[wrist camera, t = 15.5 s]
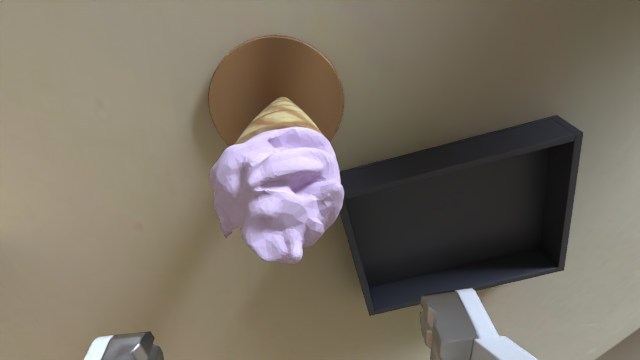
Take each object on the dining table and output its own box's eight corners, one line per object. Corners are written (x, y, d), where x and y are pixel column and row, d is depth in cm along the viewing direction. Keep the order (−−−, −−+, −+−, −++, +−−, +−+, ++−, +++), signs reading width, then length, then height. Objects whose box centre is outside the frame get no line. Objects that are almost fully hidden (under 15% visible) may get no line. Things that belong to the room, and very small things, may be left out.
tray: (557, 114, 32) (583, 132, 29) (544, 246, 40) (564, 270, 37) (330, 174, 33) (335, 196, 30) (363, 290, 41) (369, 316, 38)
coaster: (337, 26, 27) (338, 27, 26) (347, 153, 32) (348, 156, 32) (192, 45, 26) (191, 47, 26) (227, 169, 32) (226, 172, 31)
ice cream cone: (253, 154, 31) (234, 307, 18) (217, 82, 27) (162, 209, 15) (332, 126, 30) (370, 266, 17) (305, 49, 27) (327, 152, 14)
